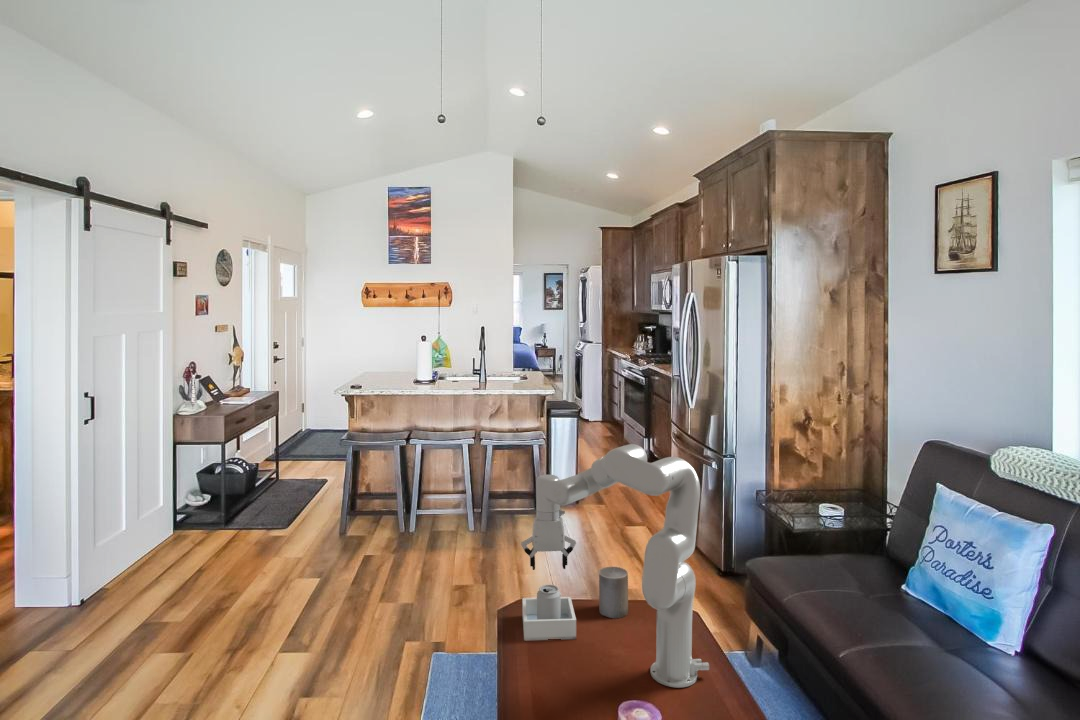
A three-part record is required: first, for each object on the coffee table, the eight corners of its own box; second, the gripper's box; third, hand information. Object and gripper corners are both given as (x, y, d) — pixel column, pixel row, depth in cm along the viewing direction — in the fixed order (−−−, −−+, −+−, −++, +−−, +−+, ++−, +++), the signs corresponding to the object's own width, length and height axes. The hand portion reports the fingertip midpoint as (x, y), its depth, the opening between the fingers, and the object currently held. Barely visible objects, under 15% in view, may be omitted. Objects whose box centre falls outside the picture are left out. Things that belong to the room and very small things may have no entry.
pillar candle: (625, 604, 212) (624, 562, 212) (630, 618, 203) (630, 573, 202) (596, 606, 212) (596, 563, 211) (601, 619, 202) (601, 574, 201)
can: (534, 621, 199) (534, 584, 199) (556, 617, 202) (556, 581, 201) (541, 632, 192) (541, 594, 191) (563, 628, 194) (563, 591, 194)
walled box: (570, 614, 205) (570, 596, 205) (576, 639, 190) (576, 620, 189) (522, 615, 205) (522, 598, 204) (524, 640, 189) (524, 621, 188)
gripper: (574, 510, 199) (574, 562, 200) (520, 511, 198) (521, 564, 199) (576, 517, 192) (577, 571, 193) (521, 519, 191) (521, 573, 192)
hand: (548, 567), depth 196 cm, fingers open, 9 cm apart
